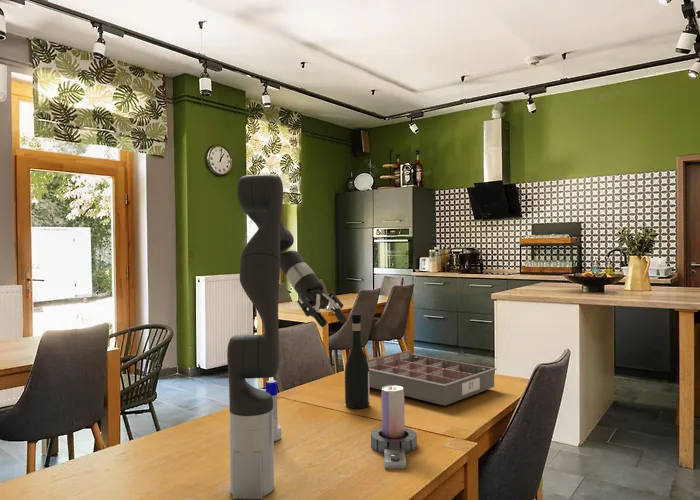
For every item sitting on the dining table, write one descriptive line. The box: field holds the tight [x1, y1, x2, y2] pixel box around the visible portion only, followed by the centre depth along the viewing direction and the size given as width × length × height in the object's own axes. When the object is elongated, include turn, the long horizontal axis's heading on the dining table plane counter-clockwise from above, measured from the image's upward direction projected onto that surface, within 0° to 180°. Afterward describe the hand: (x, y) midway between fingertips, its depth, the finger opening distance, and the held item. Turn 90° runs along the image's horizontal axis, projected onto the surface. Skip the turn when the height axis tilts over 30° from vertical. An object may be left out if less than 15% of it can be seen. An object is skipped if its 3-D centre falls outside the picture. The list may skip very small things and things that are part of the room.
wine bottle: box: [344, 313, 371, 409], centre depth 171 cm, size 8×8×30 cm
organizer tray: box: [366, 349, 497, 406], centre depth 191 cm, size 32×40×10 cm
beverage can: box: [380, 385, 406, 439], centre depth 137 cm, size 6×6×15 cm
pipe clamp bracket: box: [370, 426, 418, 470], centre depth 137 cm, size 29×12×3 cm, turn 177°
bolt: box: [265, 379, 282, 442], centre depth 142 cm, size 16×5×5 cm
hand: (334, 323), depth 147 cm, fingers open, 8 cm apart
